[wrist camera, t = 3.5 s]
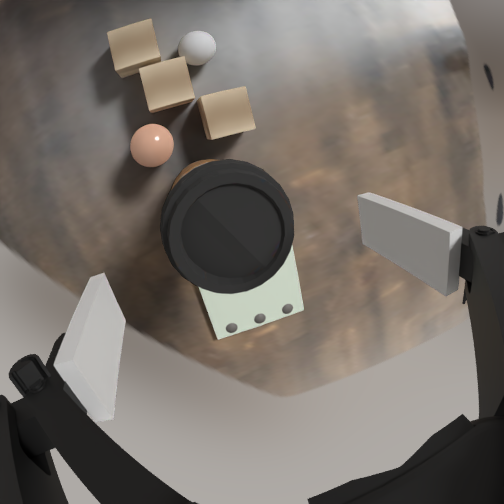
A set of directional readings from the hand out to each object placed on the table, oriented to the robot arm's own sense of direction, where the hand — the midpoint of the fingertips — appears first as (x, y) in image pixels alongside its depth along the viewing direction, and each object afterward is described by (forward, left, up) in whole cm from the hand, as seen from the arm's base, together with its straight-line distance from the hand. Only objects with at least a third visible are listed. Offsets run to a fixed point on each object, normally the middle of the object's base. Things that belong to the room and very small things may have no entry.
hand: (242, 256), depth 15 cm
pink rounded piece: (-6, -3, -18) cm, 19 cm away
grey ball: (-14, +3, -16) cm, 22 cm away
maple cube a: (-15, -3, -18) cm, 24 cm away
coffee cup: (0, 0, -18) cm, 18 cm away
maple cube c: (-7, +4, -18) cm, 20 cm away
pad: (+11, +2, -18) cm, 21 cm away
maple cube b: (-11, -1, -18) cm, 21 cm away
